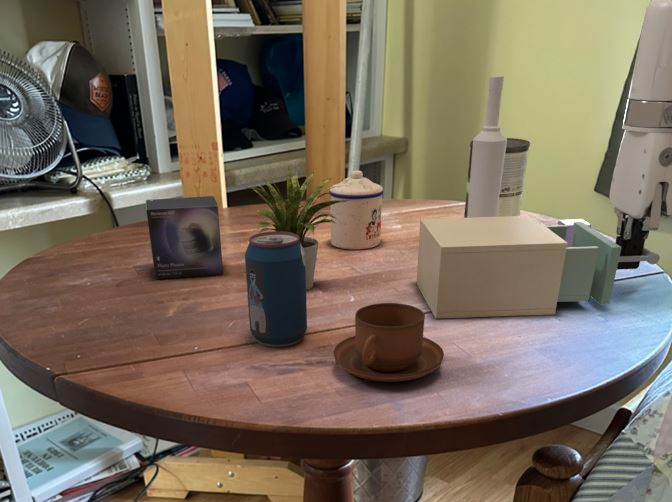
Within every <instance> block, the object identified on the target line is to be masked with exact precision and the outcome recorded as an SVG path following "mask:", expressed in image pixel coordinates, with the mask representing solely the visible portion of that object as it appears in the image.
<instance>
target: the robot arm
mask: <svg viewBox="0 0 672 502" xmlns="http://www.w3.org/2000/svg"><path fill="white" fill-rule="evenodd" d="M636 52H637V53H636V57H635V62H634V66H633V72H632V78H631V81H630V88H629V93H628V98H627V102H626V109H625V113H624V118H623V123H622V128H621V129H622V130H624V132H623V136H622V139H621V142H620V146H619V150H618V153H617V157H616V161H615V165H614V170H613V173H612V178H611V184H610V189H609V198H608V199H609V203H610V204H611V206H613V207H614V208H613V212H614V214H615V215H616V217H617V223H616V232H615V233H616V238H615V242H614V243H616V244H617V245H619V246H620V247H621V252H620V256H642V252H643V247H644V246H645V242H646V240H647V239H648V238H649V235H650V232H652V231H653V232H654V231H658V230H659V227H660V222H661V221H660V220H661V217H662V218H665V219H670V218H672V0H650V1H649V3H648V4H647V7H646V9H645V13H644V17H643V21H642V25H641V32H640V36H639V42H638V47H637V51H636ZM640 264H641V261H636V262H618V266H617V270H637V269H638V268H640Z"/></svg>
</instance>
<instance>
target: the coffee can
mask: <svg viewBox="0 0 672 502" xmlns="http://www.w3.org/2000/svg"><path fill="white" fill-rule="evenodd" d="M506 138H507V144H506V151H505V158H504V166H503V173H502V180H501V187H500V194H499V202H498V209H497V216H496V217H505V216H521V208H522V202H523V201H522V200H523V194H524V186H525V179H526V171H527V164H528V157H529V149H530V147H531V141H529V140H528V139H523V138H516V137H515V138H514V137H506ZM469 149H470V150H469V159H468V161H469V162H468V170H467V171H468V172H467V183H466V192H465V193H466V194H465V204H464V213H463V218H467V213H468V200H469V187H470V174H471V162H472V149H473V140H471V141H470V142H469Z"/></svg>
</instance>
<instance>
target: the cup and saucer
mask: <svg viewBox="0 0 672 502" xmlns="http://www.w3.org/2000/svg"><path fill="white" fill-rule="evenodd" d="M425 316H426V315H425V313H424V311H423V310H422V309H420V308H418V307H416V306H413V305H409V304H405V303H399V302H398V303H397V302H379V303H372V304H369V305H365V306H363V307H360V308H359V309H358V310H356V312H355V316H354V317H355V319H354V320H355V322H354V323H355V324H354V325H355V327H354V328H355V329H354V330H355V331H354V333H355V334H354V335H353V336H349V337H347V338H345V339H343V340H341V341H340V342H339V343H337V344H336V346H335V347H334V349H333V358H334V361H335V362H336V364H337V365H338V366H339V367H340V368H342V370H344V371H346V372H347V373H349V374H350V375H352V376H355V377H358V378H360V379H364V380H369V381H373V382H374V381H375V382H384V383H385V382H387V383H392V382H393V383H394V382H397V383H398V382H405V381H410V380H415V379H419V378H422V377H425V376H427V375H428V374H430V373H432V372H434V371H435V370H436V369H437V368H438V367H440V365H441V364H442V362H443V360H444V357H445V352H444V350H443V348H442V347H441V345H439V344H438V343H437V342H435V341H433V340H432V339H429V338H428V337H424V331H425V330H424V329H425V320H426V319H425V318H426V317H425Z"/></svg>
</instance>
